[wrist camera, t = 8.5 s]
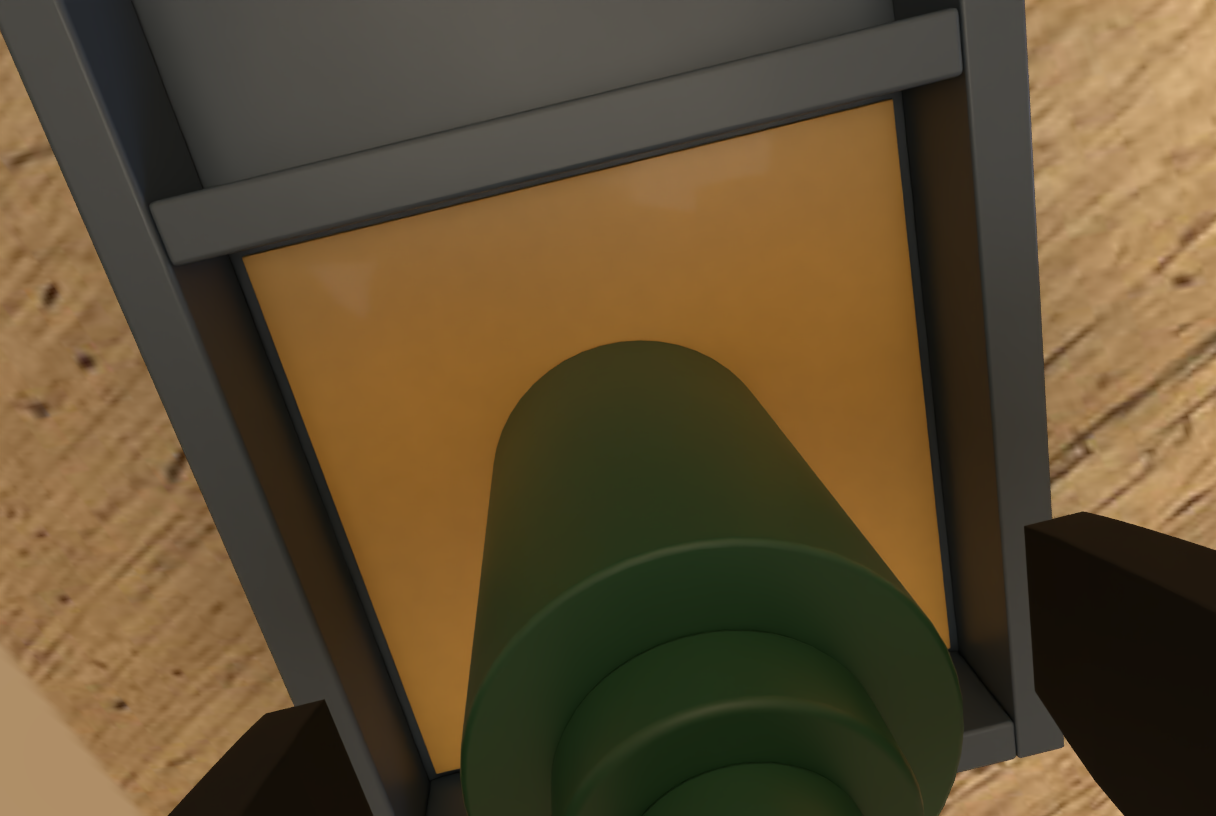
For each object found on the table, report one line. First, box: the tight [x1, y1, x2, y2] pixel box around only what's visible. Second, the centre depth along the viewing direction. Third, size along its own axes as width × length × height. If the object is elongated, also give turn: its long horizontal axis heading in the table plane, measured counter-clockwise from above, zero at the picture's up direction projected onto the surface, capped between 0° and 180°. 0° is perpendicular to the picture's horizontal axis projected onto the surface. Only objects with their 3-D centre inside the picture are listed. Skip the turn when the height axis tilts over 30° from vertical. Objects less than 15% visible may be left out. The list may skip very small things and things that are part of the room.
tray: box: [0, 0, 1064, 816], centre depth 11 cm, size 12×22×2 cm, turn 13°
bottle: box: [460, 340, 964, 816], centre depth 9 cm, size 5×5×10 cm
